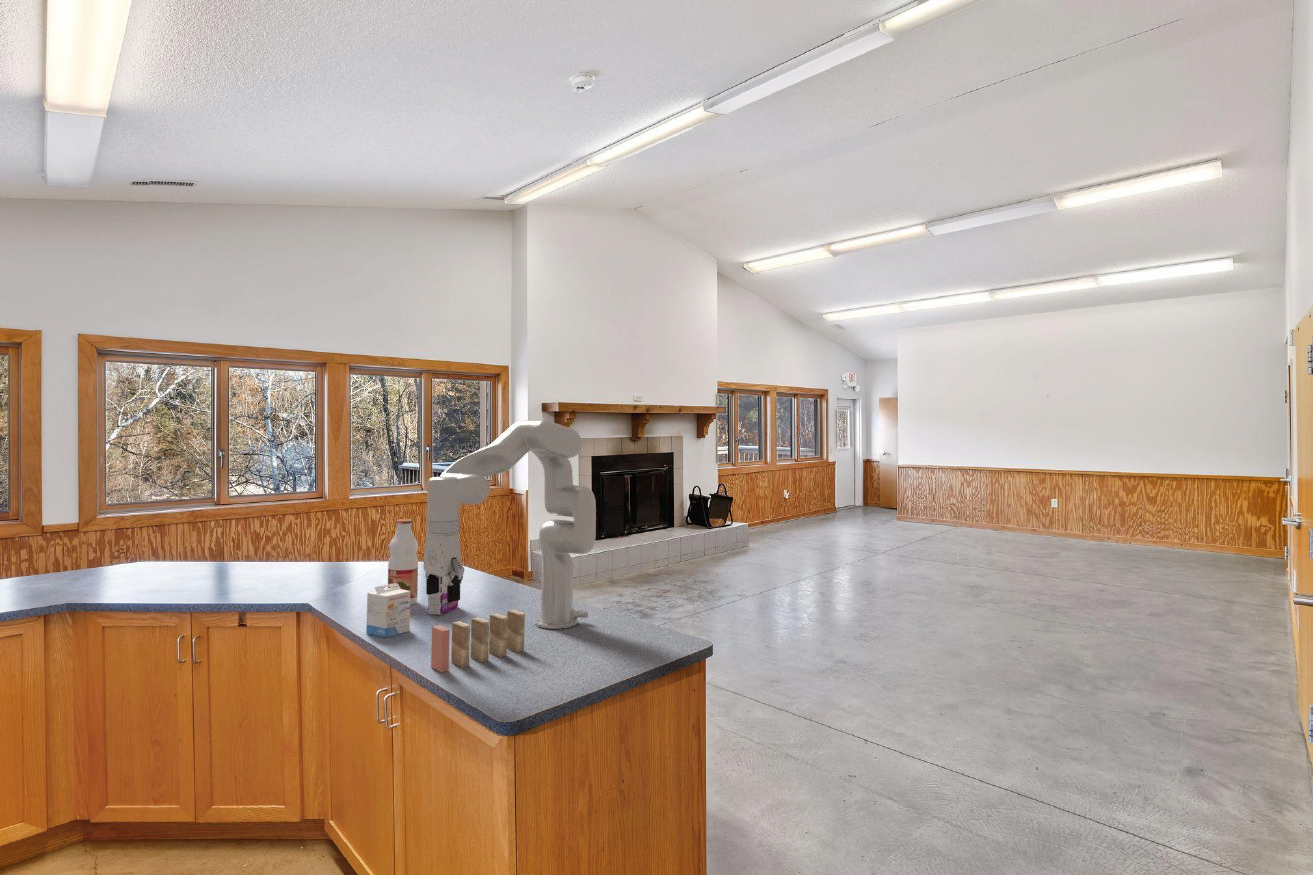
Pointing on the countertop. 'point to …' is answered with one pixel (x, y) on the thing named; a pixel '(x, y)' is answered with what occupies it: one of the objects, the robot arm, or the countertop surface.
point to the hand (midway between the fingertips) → (443, 597)
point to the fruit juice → (404, 559)
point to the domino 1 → (440, 648)
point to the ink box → (388, 611)
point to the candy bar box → (440, 599)
